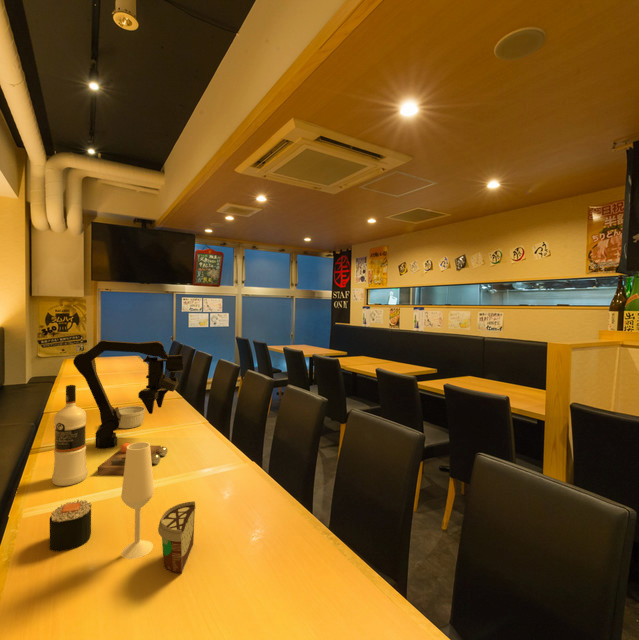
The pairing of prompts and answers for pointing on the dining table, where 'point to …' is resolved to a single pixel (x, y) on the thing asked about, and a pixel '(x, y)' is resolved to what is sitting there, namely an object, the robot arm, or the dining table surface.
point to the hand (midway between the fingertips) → (155, 410)
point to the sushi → (70, 525)
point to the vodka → (70, 442)
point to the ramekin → (131, 416)
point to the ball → (124, 447)
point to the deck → (118, 463)
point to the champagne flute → (137, 493)
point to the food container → (177, 536)
